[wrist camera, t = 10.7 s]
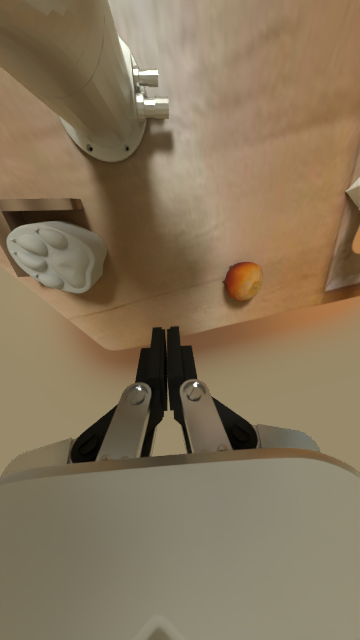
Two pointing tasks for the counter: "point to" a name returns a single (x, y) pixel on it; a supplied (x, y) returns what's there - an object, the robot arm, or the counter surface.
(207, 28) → the counter surface
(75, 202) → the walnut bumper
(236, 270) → the fruit
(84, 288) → the lumpy-topped squat cylinder
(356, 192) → the skyscraper
